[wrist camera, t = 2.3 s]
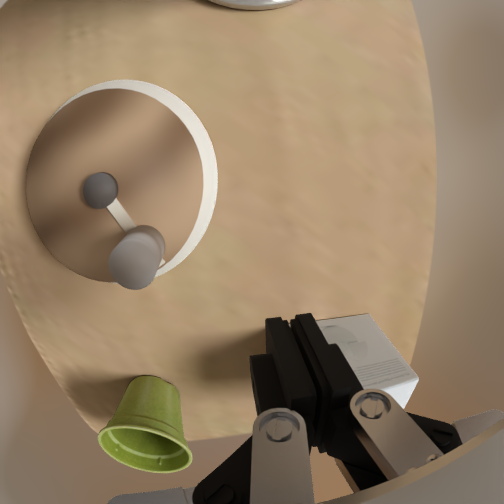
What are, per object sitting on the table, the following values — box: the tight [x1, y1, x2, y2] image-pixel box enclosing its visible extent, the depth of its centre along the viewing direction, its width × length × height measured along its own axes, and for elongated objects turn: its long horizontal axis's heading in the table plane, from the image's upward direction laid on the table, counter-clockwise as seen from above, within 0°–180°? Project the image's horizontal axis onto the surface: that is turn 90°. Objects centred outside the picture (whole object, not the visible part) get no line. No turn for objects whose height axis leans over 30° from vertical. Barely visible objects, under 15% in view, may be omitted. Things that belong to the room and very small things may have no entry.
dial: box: [26, 88, 204, 290], centre depth 17 cm, size 14×14×5 cm
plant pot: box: [98, 376, 192, 473], centre depth 26 cm, size 9×9×9 cm
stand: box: [47, 80, 218, 284], centre depth 20 cm, size 16×16×2 cm
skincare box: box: [289, 314, 419, 409], centre depth 25 cm, size 10×6×10 cm, turn 90°
